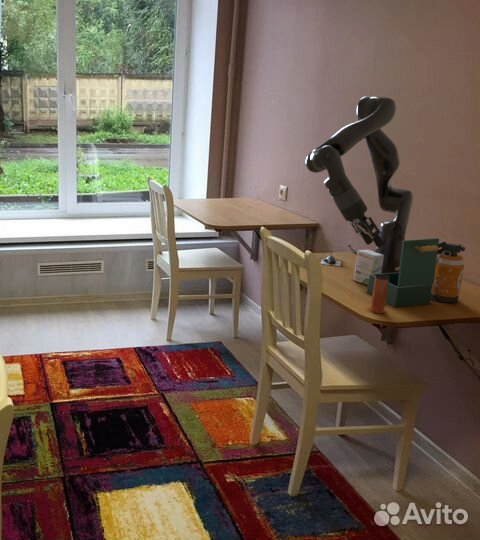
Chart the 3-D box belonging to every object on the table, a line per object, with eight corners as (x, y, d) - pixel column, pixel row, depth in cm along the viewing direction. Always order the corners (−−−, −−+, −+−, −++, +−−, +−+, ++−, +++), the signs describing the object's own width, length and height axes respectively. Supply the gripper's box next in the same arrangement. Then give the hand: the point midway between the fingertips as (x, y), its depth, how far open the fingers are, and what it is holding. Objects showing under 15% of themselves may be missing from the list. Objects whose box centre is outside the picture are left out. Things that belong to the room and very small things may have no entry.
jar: (367, 309, 199) (372, 274, 195) (378, 308, 200) (383, 273, 197) (375, 314, 195) (381, 278, 191) (387, 312, 196) (392, 277, 192)
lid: (402, 240, 196) (413, 243, 191) (437, 238, 199) (449, 241, 194) (397, 286, 199) (408, 290, 195) (431, 283, 203) (443, 287, 198)
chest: (367, 292, 215) (369, 274, 213) (399, 289, 218) (402, 271, 216) (395, 307, 201) (398, 287, 199) (429, 303, 205) (432, 284, 203)
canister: (456, 305, 203) (467, 248, 197) (420, 299, 209) (429, 243, 203) (458, 297, 210) (469, 242, 204) (423, 292, 216) (432, 237, 210)
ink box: (380, 285, 223) (384, 254, 219) (370, 286, 221) (374, 256, 217) (362, 278, 230) (366, 248, 226) (352, 280, 228) (356, 250, 224)
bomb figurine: (320, 263, 248) (321, 251, 246) (321, 259, 254) (322, 246, 253) (340, 266, 245) (342, 253, 243) (341, 261, 252) (342, 248, 250)
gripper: (368, 196, 184) (395, 240, 186) (351, 195, 198) (376, 236, 200) (347, 210, 185) (374, 254, 187) (331, 208, 199) (357, 248, 201)
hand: (375, 244), depth 193 cm, fingers open, 8 cm apart
